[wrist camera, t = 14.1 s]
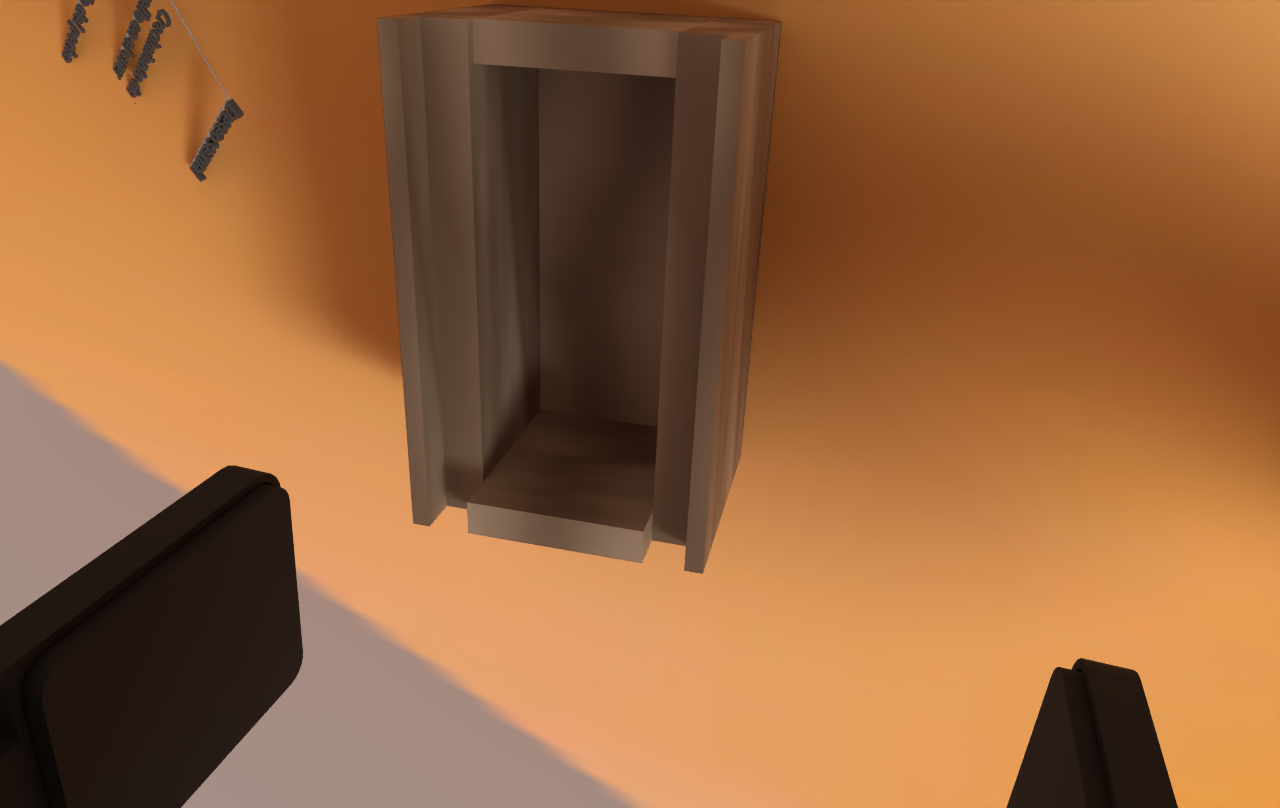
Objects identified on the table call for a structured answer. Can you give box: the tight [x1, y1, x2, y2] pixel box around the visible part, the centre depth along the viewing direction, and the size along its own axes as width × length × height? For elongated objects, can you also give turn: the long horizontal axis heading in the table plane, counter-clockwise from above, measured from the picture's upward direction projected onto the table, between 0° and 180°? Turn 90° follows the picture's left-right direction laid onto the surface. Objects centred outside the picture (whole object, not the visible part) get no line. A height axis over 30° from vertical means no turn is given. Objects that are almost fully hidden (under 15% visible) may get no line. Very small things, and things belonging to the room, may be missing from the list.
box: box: [377, 4, 781, 574], centre depth 32 cm, size 10×16×8 cm, turn 178°
